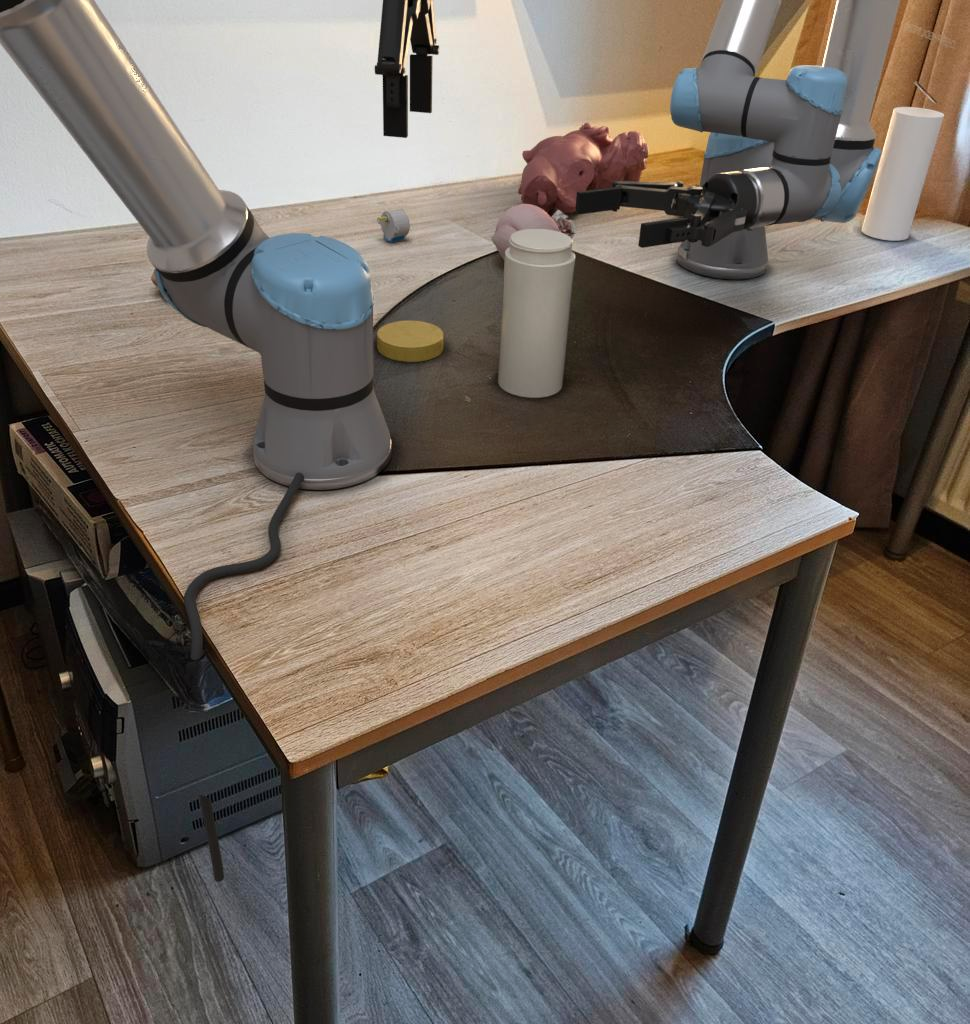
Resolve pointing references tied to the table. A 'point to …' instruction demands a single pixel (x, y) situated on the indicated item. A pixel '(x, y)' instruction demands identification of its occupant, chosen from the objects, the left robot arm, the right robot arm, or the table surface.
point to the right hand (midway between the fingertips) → (607, 218)
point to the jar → (535, 312)
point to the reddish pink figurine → (579, 165)
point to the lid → (410, 341)
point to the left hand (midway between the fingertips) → (408, 123)
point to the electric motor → (394, 225)
